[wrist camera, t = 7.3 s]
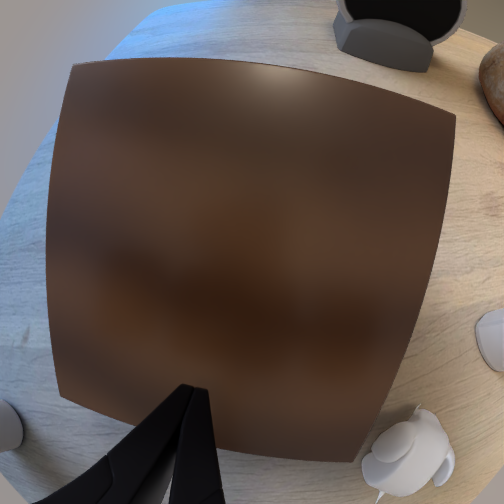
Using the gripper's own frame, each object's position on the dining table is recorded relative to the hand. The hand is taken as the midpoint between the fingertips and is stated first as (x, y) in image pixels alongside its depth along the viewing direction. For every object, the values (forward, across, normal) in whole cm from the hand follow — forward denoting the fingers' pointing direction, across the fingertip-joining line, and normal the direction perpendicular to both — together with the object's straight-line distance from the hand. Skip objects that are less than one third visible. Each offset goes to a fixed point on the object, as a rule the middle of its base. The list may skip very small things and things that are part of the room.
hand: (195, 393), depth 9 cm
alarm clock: (+37, -12, -19) cm, 43 cm away
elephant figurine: (+6, -13, +12) cm, 19 cm away
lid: (+3, 0, -2) cm, 4 cm away
